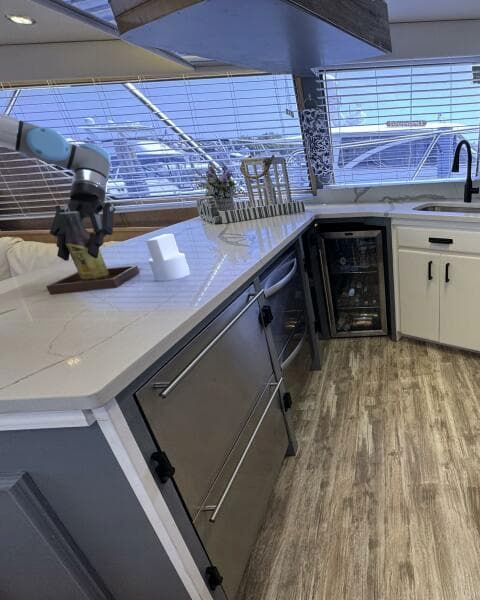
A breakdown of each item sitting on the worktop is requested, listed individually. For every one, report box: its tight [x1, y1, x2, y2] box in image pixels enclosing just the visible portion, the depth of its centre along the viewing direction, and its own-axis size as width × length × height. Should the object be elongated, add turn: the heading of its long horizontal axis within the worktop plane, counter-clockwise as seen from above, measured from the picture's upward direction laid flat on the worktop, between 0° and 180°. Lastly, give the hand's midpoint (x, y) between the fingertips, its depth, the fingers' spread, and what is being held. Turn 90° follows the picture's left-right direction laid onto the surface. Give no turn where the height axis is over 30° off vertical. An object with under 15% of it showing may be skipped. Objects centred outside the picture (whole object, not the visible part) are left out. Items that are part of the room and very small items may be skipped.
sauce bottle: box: [59, 211, 110, 282], centre depth 90 cm, size 6×6×20 cm
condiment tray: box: [46, 265, 141, 296], centre depth 94 cm, size 16×14×2 cm
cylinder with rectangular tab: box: [145, 233, 191, 282], centre depth 95 cm, size 9×9×12 cm
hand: (78, 256), depth 88 cm, fingers closed on sauce bottle, 6 cm apart
